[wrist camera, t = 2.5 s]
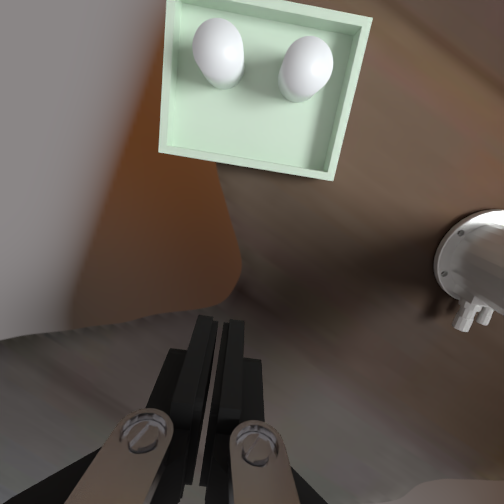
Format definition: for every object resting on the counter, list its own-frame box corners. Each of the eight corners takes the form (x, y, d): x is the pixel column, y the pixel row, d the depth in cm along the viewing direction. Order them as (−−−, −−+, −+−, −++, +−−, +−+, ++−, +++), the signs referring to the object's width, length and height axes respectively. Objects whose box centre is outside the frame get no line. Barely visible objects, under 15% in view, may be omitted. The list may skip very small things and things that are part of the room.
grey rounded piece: (314, 106, 32) (326, 97, 27) (274, 98, 32) (278, 88, 26) (323, 59, 31) (338, 41, 25) (282, 51, 30) (288, 31, 25)
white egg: (241, 92, 31) (239, 81, 26) (200, 85, 31) (190, 72, 26) (247, 45, 30) (246, 23, 25) (204, 37, 30) (194, 13, 25)
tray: (326, 178, 35) (333, 181, 32) (166, 152, 34) (158, 152, 31) (360, 31, 30) (372, 18, 27) (176, -5, 29) (167, -23, 26)
